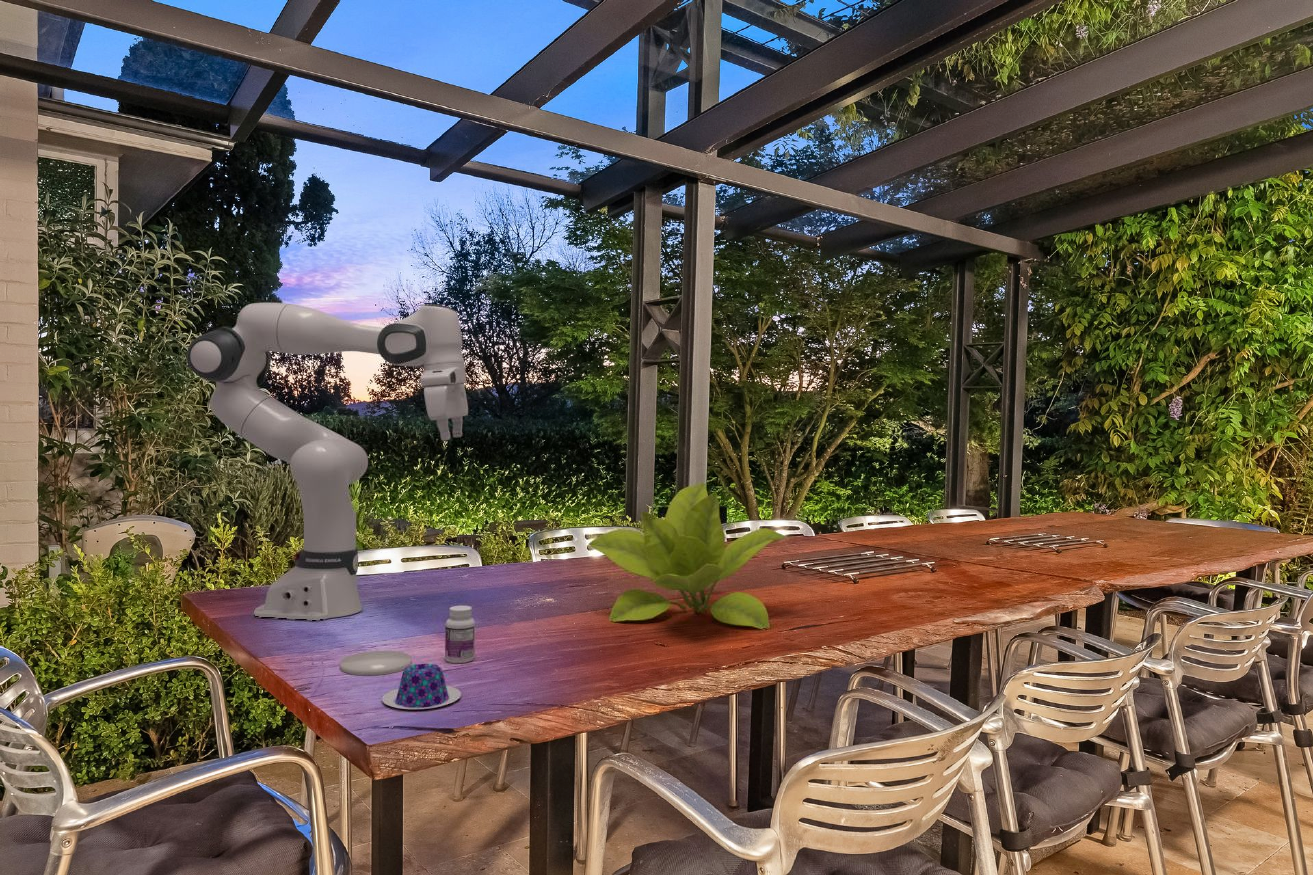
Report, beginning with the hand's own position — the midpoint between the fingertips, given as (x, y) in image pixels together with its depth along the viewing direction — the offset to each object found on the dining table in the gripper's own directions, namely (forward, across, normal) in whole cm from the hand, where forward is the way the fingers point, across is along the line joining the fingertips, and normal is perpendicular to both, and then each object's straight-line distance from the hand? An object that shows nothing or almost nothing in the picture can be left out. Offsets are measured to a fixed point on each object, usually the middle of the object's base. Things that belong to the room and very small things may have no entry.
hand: (452, 438), depth 188 cm
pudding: (+38, +58, +8) cm, 70 cm away
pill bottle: (+39, +36, +8) cm, 54 cm away
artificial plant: (+46, -2, +49) cm, 67 cm away
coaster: (+37, +42, -6) cm, 56 cm away
